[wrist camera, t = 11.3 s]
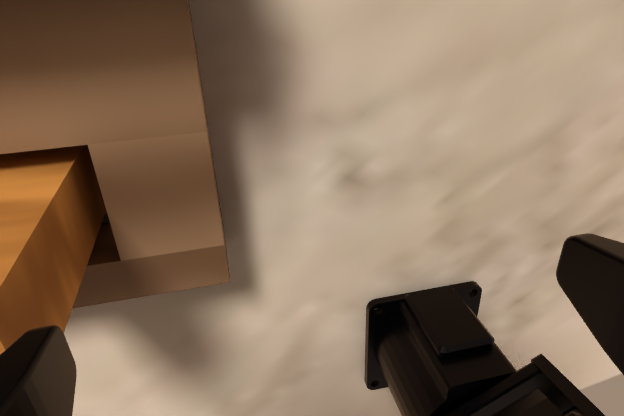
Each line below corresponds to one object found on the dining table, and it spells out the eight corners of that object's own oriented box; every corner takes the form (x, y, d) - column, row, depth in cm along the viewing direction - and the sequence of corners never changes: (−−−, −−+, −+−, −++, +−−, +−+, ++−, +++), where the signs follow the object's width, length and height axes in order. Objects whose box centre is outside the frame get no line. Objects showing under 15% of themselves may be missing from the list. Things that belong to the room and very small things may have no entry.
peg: (106, 208, 19) (35, 413, 10) (27, 218, 18) (-118, 443, 10) (87, 138, 18) (-14, 310, 9) (1, 147, 17) (-196, 339, 8)
